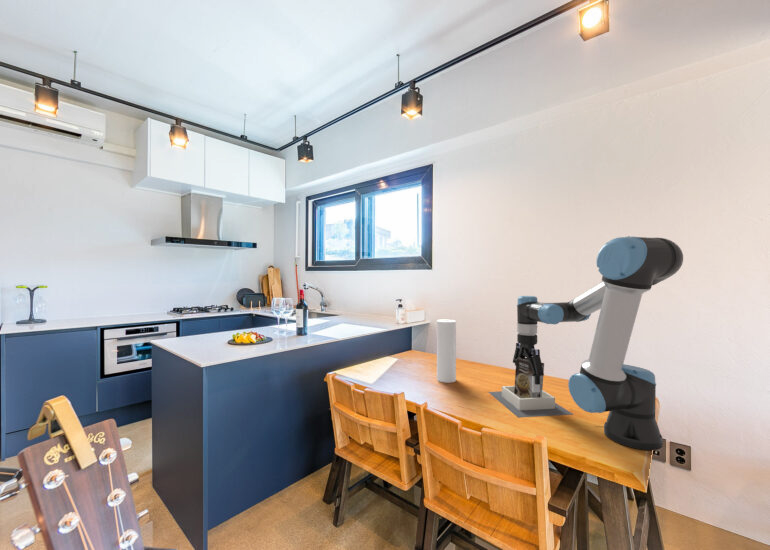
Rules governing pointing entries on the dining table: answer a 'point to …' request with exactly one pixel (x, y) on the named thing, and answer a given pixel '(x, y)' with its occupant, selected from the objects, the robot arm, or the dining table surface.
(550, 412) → the mat
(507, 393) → the tray
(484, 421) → the dining table surface
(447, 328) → the cylinder container
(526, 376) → the coffee box
